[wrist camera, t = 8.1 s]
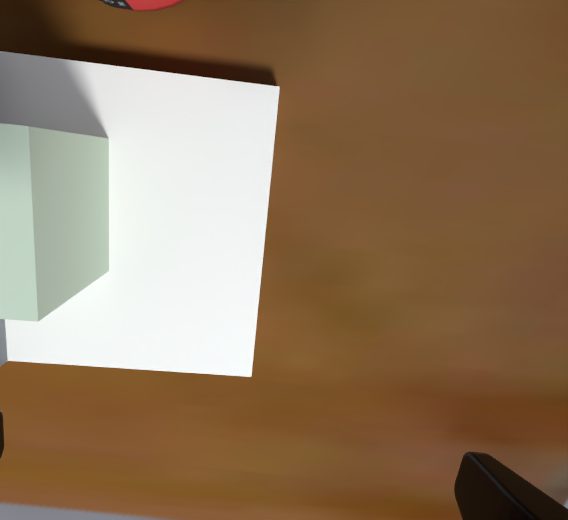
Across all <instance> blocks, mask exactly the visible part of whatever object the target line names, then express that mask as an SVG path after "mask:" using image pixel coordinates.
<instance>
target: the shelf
mask: <svg viewBox="0 0 568 520" xmlns="http://www.w3.org/2000/svg"><path fill="white" fill-rule="evenodd" d="M279 88H280V87H278V86H270V85H262V84H254V83H247V82H239V81H231V80H223V79H215V78H207V77H199V76H192V75H184V74H176V73H168V72H160V71H152V70H145V69H137V68H129V67H121V66H113V65H105V64H97V63H90V62H82V61H74V60H66V59H58V58H50V57H43V56H35V55H27V54H19V53H11V52H3V51H0V123H3V124H12V125H21V126H30V127H36V128H43V129H49V130H56V131H63V132H69V133H76V134H82V135H89V136H96V137H102V138H109V271H108V272H107V273H105V274H104V275H103V276H101V277H100V278H98V279H97V280H96V281H94V282H93V283H91V284H90V285H89V286H87V287H86V288H84V289H83V290H82V291H80V292H79V293H77V294H76V295H75V296H73V297H72V298H70V299H69V300H68V301H66V302H65V303H63V304H62V305H61V306H59V307H58V308H57V309H55V310H54V311H52V312H51V313H50V314H48V315H47V316H45V317H44V318H43V319H41V320H40V321H38V322H36V321H22V320H9V319H0V366H1V365H3V364H4V363H5V362H7V361H22V362H37V363H52V364H67V365H82V366H97V367H112V368H127V369H142V370H157V371H172V372H187V373H202V374H217V375H232V376H247V377H251V375H252V364H253V354H254V344H255V334H256V324H257V313H258V303H259V293H260V283H261V272H262V262H263V252H264V242H265V232H266V221H267V211H268V201H269V191H270V180H271V170H272V160H273V150H274V140H275V129H276V119H277V109H278V99H279Z"/></svg>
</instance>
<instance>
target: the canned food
mask: <svg viewBox="0 0 568 520" xmlns="http://www.w3.org/2000/svg"><path fill="white" fill-rule="evenodd" d="M96 1H99V2H102V3H104V4H107V5H110V6H113V7H116V8H122V9H128V10H135V11H153V10H160V9H164V8H167V7H171V6H174V5H176V4H178V3H180V2H182V1H184V0H96Z"/></svg>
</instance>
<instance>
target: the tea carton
mask: <svg viewBox="0 0 568 520" xmlns="http://www.w3.org/2000/svg"><path fill="white" fill-rule="evenodd" d="M108 271H109V138H102V137H96V136H89V135H82V134H76V133H69V132H63V131H56V130H49V129H43V128H36V127H30V126H21V125H12V124H3V123H0V319H9V320H22V321H36V322H38V321H40V320H41V319H43V318H44V317H45V316H47V315H48V314H50V313H51V312H52V311H54V310H55V309H57V308H58V307H59V306H61V305H62V304H63V303H65V302H66V301H68V300H69V299H70V298H72V297H73V296H75V295H76V294H77V293H79V292H80V291H82V290H83V289H84V288H86V287H87V286H89V285H90V284H91V283H93V282H94V281H96V280H97V279H98V278H100V277H101V276H103V275H104V274H105V273H107V272H108Z"/></svg>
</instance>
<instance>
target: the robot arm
mask: <svg viewBox="0 0 568 520" xmlns="http://www.w3.org/2000/svg"><path fill="white" fill-rule="evenodd" d="M3 449H4V431H3V415H2V412H1V410H0V458H1V456H2V453H3ZM454 491H455V497H456V501H457V504H458V507H459V510H460V513H461V516H462V519H463V520H568V509H567V508H565V507H564V506H562V505H561V504H559V503H558V502H557V501H555V500H554V499H552V498H551V497H549V496H548V495H546V494H545V493H544V492H542V491H541V490H539V489H538V488H536V487H535V486H533V485H532V484H531V483H529V482H528V481H526V480H525V479H523V478H522V477H520V476H519V475H518V474H516V473H515V472H513V471H512V470H510V469H509V468H507V467H506V466H505V465H503V464H502V463H500V462H499V461H497V460H496V459H494V458H493V457H492V456H490V455H488V454H486V453H478V452H467V453H465V455H464V456H463V458H462V462H461V465H460V468H459V471H458V475H457V478H456V481H455V487H454Z"/></svg>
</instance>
